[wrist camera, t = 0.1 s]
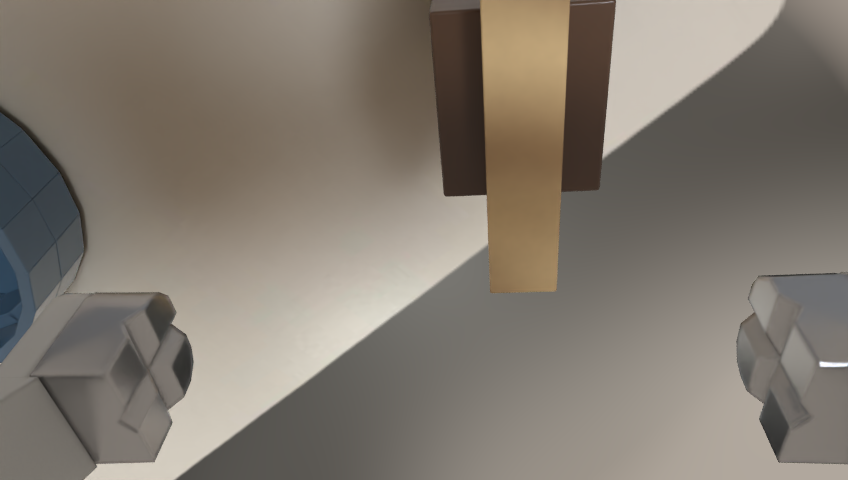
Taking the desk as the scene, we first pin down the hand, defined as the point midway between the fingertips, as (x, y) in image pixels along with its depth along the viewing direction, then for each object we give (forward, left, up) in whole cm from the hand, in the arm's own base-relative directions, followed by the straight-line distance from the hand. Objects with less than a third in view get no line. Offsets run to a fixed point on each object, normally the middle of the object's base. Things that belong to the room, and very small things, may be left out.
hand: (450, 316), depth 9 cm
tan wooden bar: (+2, +2, -11) cm, 11 cm away
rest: (+2, +2, -23) cm, 23 cm away
